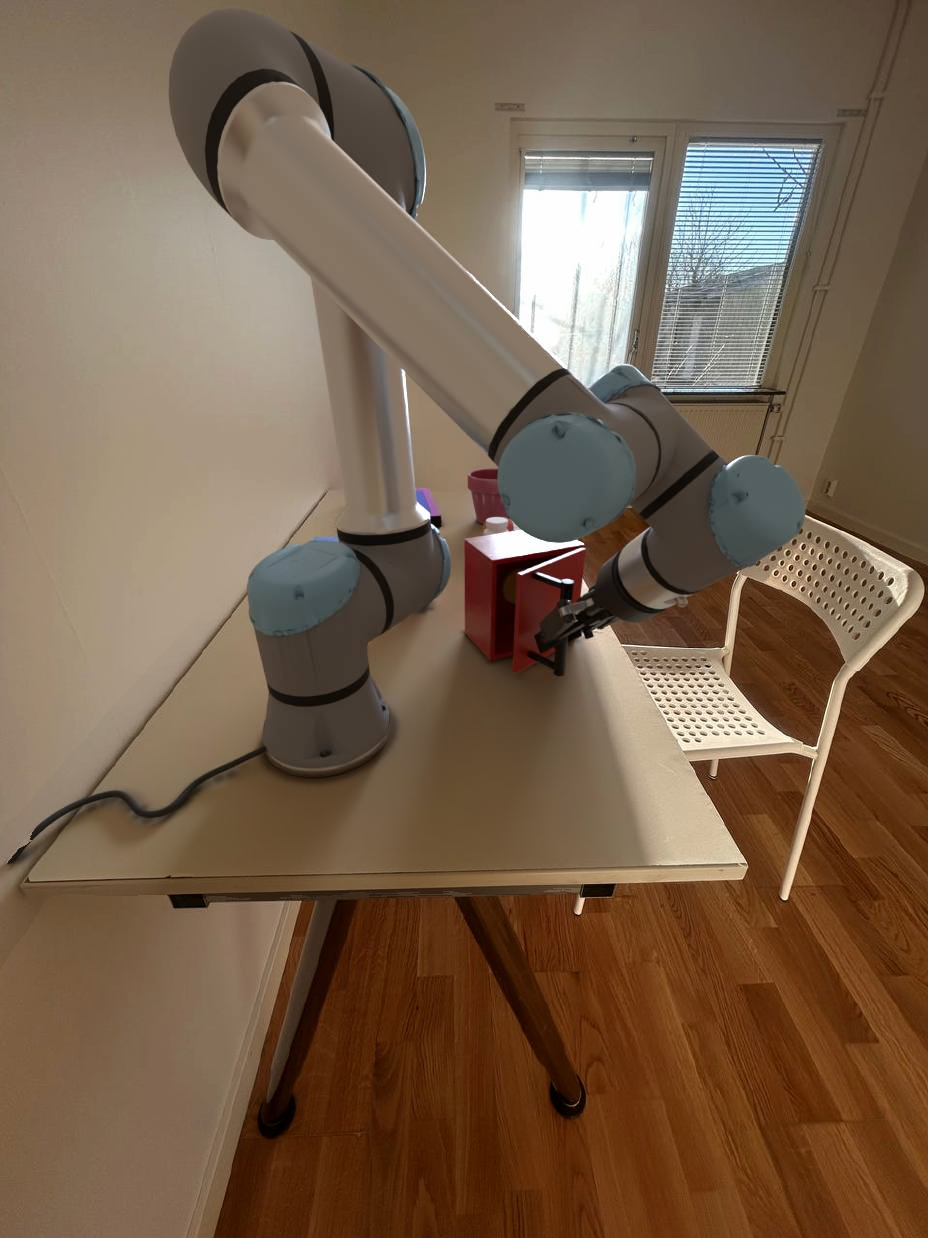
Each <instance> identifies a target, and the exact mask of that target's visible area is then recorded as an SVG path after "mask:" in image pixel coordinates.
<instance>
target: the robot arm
mask: <svg viewBox="0 0 928 1238" xmlns="http://www.w3.org/2000/svg"><path fill="white" fill-rule="evenodd" d="M168 105H169V111H170V117H171V121H172V126H173V129H174V133H175V136H176V139H177V141H178V143H179V146H180V148H181V150H182V152H183V155H184V157H185V160H186V161H187V164H188V166H189V167H190V169H191V170H192V172H193V174H194V175H195V176H196V178H197V180H198V181H199V182H200V184H201V185H202V186H203V188H204V189H205V190H206V191H207V193H208V194H209V195H210V196H211V197H212V198H213V200H214V201H215V202H216V203H217V204H218V206H219V207H221V208H222V209H223V210H224V211H225V212H226V214H227V215H229V217H230V218H232V219H233V220H234V222H235V223H236V224H237V225H238V226H239V227H241V228H242V229H243V230H244V231H245V232H247V234H250V235H251V236H254V237H255V238H258V239H261V240H267V241H274V242H275V243H276V244H277V245H278V246H279V247H280V248H281V249H282V250H283V251H284V252H285V253H286V254H287V255H288V256H289V257H290V258H291V259H292V260H293V261H294V262H295V263H296V264H297V265H298V267H300V268H301V269H302V270H303V271H304V272H305V273H306V274H307V275H308V276H309V277H310V281H311V287H312V288H311V289H312V296H313V300H314V307H315V314H316V320H317V327H318V332H319V340H320V346H321V353H322V354H321V355H322V358H323V360H322V361H323V367H324V372H325V379H326V386H327V391H328V399H329V405H330V411H331V416H332V417H331V418H332V424H333V431H334V437H335V443H336V451H337V457H338V464H339V469H340V475H341V476H340V477H341V483H342V489H343V495H344V502H345V509H344V511H343V512H342V513H341V514H340V515H339V517H338V519H336V521H335V528H336V534H337V537H338V540H339V542H335V541H325V540H320V541H312V540H310V541H307V542H305V543H304V544H300V543H294V544H292V545H291V544H290V545H288V546H285V547H283V548H280V549H277V550H275V551H274V552H272V553H270V554H268V555H267V556H265V557H264V558H262V559H261V560H260V561H259V562H258V563H257V564H256V565H255V566H254V567H253V568H252V570H251V572H250V573H249V575H248V579H247V583H246V594H247V601H248V602H247V603H248V617H249V620H250V623H251V625H252V626H253V630H254V634H255V638H256V643H257V647H258V651H259V656H260V660H261V664H262V669H263V673H264V677H265V681H266V686H267V691H268V696H267V703H266V712H265V719H264V723H263V726H262V743H263V745H262V746H261V747H259V748H256V749H254V750H252V751H250V752H247V753H246V754H244V755H241V756H240V757H237V758H235V759H233V760H231V761H229V762H227V763H225V764H223V765H220V766H218V767H216V768H214V769H211V770H209V771H207V772H205V773H204V774H202V775H200V776H199V777H198V778H196V779H194V780H193V781H191V782H190V784H188V785H187V786H186V788H185V789H184V790H183V791H182V792H181V793H180V794H179V796H178V797H176V798H175V800H174V801H173V802H171V803H170V804H169V805H167V806H165V807H163V808H160V809H156V810H146V809H145V808H143V807H142V806H140V804H138V802H137V801H136V800H135V798H133V797H132V796H131V794H128V792H125V791H122V790H117V789H116V790H115V789H113V790H106V791H103V792H99V793H95V794H91V795H89V796H86V797H83V798H80V799H78V800H76V801H74V802H71V803H70V804H67V805H66V806H63V807H62V808H59V810H57V811H55V812H54V813H52V814H51V815H49V816H48V817H46V818H45V819H43V820H42V821H41V822H40V823H39V824H38V825H36V826H35V827H36V828H35V827H34V828H35V829H34V828H33V829H34V831H33V832H32V835H31V836H30V837H31V838H30V840H32V841H31V842H29V843H28V844H27V845H25V846H23V847H21V848H19V849H18V850H17V852H16V853H15V854H14V855H13V856H12V858H11V859H10V860H9V861H8V863H7V865H6V866H8V865H11V864H13V863H15V862H16V861H17V860H18V858H19V857H20V856H21V855H22V853H23V852H24V851H25V849H26V848H27V847H28V846H29V845H30V844H31V843H32V842H33V841H34V839H36V838H37V837H38V835H40V834H41V833H42V832H43V831H44V830H46V828H48V827H49V826H51V825H52V824H54V823H55V822H56V821H58V820H59V819H60V818H62V817H64V816H65V815H68V814H69V813H71V812H72V811H74V810H76V809H79V808H81V807H84V806H86V805H89V804H91V803H95V802H97V801H101V800H104V799H109V798H117V799H118V798H119V799H121V800H123V802H125V804H126V805H127V806H128V808H130V810H131V811H132V812H133V813H134V814H135V815H137V816H139V817H141V818H144V819H156V818H160V817H163V816H164V817H165V816H166V815H168V814H170V813H172V812H173V811H175V810H176V809H178V807H180V806H181V804H182V803H184V801H185V800H186V799H187V798H188V796H189V795H190V794H191V793H192V792H193V791H194V790H195V789H196V788H198V787H199V786H200V785H201V784H203V783H204V782H206V781H208V780H209V779H211V778H213V777H216V776H217V775H219V774H222V773H224V772H226V771H229V770H231V769H233V768H235V767H237V766H239V765H241V764H243V763H245V762H247V761H249V760H252V759H253V758H255V757H257V756H260V755H262V754H264V753H265V754H266V757H267V759H268V760H269V761H270V763H271V764H272V765H273V766H275V767H276V768H277V769H278V770H280V771H282V772H284V773H286V774H289V775H293V776H297V777H304V778H322V777H329V776H330V777H331V776H335V775H339V774H343V773H346V772H349V771H351V770H354V769H356V768H357V767H360V766H362V765H363V764H365V763H367V762H368V761H369V760H371V759H372V758H374V756H375V755H377V754H378V753H379V752H380V751H381V749H383V747H384V746H385V744H386V743H387V741H388V739H389V736H390V732H391V717H390V712H389V709H388V705H387V703H386V700H385V699H384V698H383V696H382V694H381V691H380V690H379V688H378V686H377V684H376V682H375V680H374V678H373V676H372V675H371V671H370V661H369V654H368V653H369V652H368V646H369V644H370V643H371V642H373V641H374V640H375V639H377V638H378V637H380V636H381V635H383V634H385V633H386V632H388V631H389V630H391V629H393V628H394V627H396V626H397V625H398V624H400V623H402V622H403V621H405V620H406V619H408V618H409V617H411V616H413V615H415V614H418V613H420V612H421V611H424V610H425V608H426V607H427V606H428V605H429V606H430V605H431V603H433V601H435V600H436V599H437V598H438V597H440V596H441V594H442V593H443V592H444V590H445V588H446V587H447V585H448V583H449V580H450V577H451V571H452V559H451V558H452V557H451V552H450V549H449V545H448V543H447V541H446V539H445V538H442V537H441V531H440V530H439V529H438V527H435V526H433V525H432V524H431V520H430V513H429V512H428V511H427V510H425V509H424V508H423V507H422V506H421V505H419V503H418V502H417V500H416V489H415V488H416V480H415V467H414V458H413V446H412V435H411V425H410V424H411V423H410V413H409V403H408V391H407V381H406V380H407V379H406V375H407V376H408V377H409V378H410V379H411V380H412V381H413V382H414V383H415V384H416V386H418V387H419V388H420V389H421V390H422V391H423V392H424V393H425V394H426V395H427V396H428V397H429V398H430V399H431V400H432V401H433V402H434V403H435V404H436V405H437V406H438V407H439V408H440V409H441V410H442V411H443V412H444V413H445V414H446V415H447V416H448V417H449V418H450V419H451V420H452V421H453V422H454V424H455V425H457V427H459V429H461V430H462V432H464V434H466V435H467V437H468V438H469V439H471V441H473V443H474V444H476V445H477V447H478V448H480V449H481V450H482V451H483V453H484V454H486V456H487V457H488V458H489V459H490V460H491V461H492V462H493V463H494V464H495V465H496V467H497V468H498V483H497V484H498V490H499V494H500V495H501V498H502V501H503V504H504V506H505V509H506V513H507V514H508V516H509V518H510V520H511V521H512V522H513V525H515V526H516V527H517V528H518V529H519V530H522V531H523V532H525V533H526V534H528V535H530V536H532V537H534V538H536V539H539V540H542V541H546V542H551V543H565V542H571V541H575V540H578V541H579V540H580V539H583V538H585V537H587V536H589V535H591V534H593V533H594V532H596V531H599V530H601V529H602V528H604V527H605V526H607V525H609V524H612V523H614V522H615V521H616V520H617V519H619V517H621V516H622V515H623V514H624V513H625V512H626V510H627V508H628V507H631V508H632V510H634V511H635V512H636V513H637V514H638V516H639V517H640V518H641V519H642V520H643V521H645V522H646V523H647V524H648V526H649V527H647V528H646V529H645V530H644V531H643V532H642V533H640V534H639V535H638V536H636V537H635V538H634V539H632V540H631V541H630V542H628V543H627V544H626V545H625V546H624V547H623V548H622V549H620V550H619V551H618V552H616V553H615V554H614V555H613V556H612V557H610V558H609V559H608V560H606V561H605V562H604V563H603V564H602V566H601V567H600V568H599V570H598V572H597V577H596V581H595V585H593V586H591V587H590V588H588V591H587V592H586V593H584V594H582V595H581V597H580V598H579V599H577V601H576V603H574V604H572V602H571V601H567V600H566V599H564V600H560V601H559V602H557V603H556V608H555V609H554V610H553V611H552V612H551V613H550V614H549V615H548V616H547V617H546V618H545V619H544V620H543V621H541V622H540V623H539V626H540V629H541V631H540V632H539V633H537V634H536V635H534V638H535V641H536V644H537V647H538V649H539V652H540V654H542V653H545V652H547V651H548V650H550V649H552V648H553V647H554V648H555V646H556V645H558V644H560V643H561V642H563V641H565V640H566V638H565V637H566V636H568V635H569V638H568V645H569V644H571V643H572V642H574V641H576V640H578V639H580V638H581V637H583V636H584V639H585V640H588V639H589V640H590V639H593V638H594V637H595V636H594V633H593V631H595V630H604V629H605V628H607V627H609V626H611V625H613V624H614V623H616V622H618V621H620V620H621V621H624V622H626V623H634V624H636V623H643V622H646V621H648V620H649V619H652V618H653V617H655V616H657V615H660V614H661V613H662V612H665V611H666V610H668V609H669V608H670V607H672V606H675V605H677V607H678V608H684V607H686V606H688V604H689V601H688V599H687V598H688V597H691V596H693V595H695V594H697V593H699V592H701V591H702V590H704V589H706V588H708V587H710V586H712V585H715V584H716V583H718V582H720V581H722V580H724V579H726V578H728V577H730V576H732V575H734V574H736V573H739V572H740V571H742V570H744V569H747V568H752V567H753V566H755V565H757V563H758V562H760V561H761V560H763V559H764V558H766V557H768V556H769V555H771V554H772V553H774V552H775V551H777V550H778V549H780V548H782V547H783V546H785V545H787V544H788V543H790V542H791V541H792V540H794V539H795V538H796V537H797V536H798V535H799V534H800V532H801V530H802V528H803V526H804V523H805V520H806V502H805V499H804V498H805V497H804V495H803V493H802V490H801V489H800V487H799V485H798V483H797V481H796V479H795V478H794V477H793V476H792V474H790V473H789V471H788V470H786V468H784V467H783V465H780V464H773V462H772V461H771V460H770V458H768V457H765V456H762V455H758V454H749V455H743V456H740V457H738V458H736V459H735V460H733V461H729V462H728V461H726V459H725V458H723V456H722V455H719V454H718V453H717V451H715V450H714V449H713V448H712V447H711V445H710V444H709V443H708V442H707V441H706V439H704V438H703V437H702V436H701V435H700V434H699V432H698V431H697V430H696V429H695V428H694V427H693V426H692V425H691V423H690V422H689V421H687V419H686V418H685V416H683V415H682V414H681V412H679V410H678V409H677V408H676V407H675V406H674V405H673V404H672V402H671V401H670V400H668V398H667V397H666V396H665V395H664V394H663V391H662V389H661V388H660V387H659V386H658V385H657V384H656V383H654V382H652V381H650V380H649V379H648V378H647V377H646V376H645V375H643V373H642V372H641V371H640V370H638V368H636V366H633V365H632V364H628V363H623V364H618V365H617V366H615V367H613V368H612V369H611V370H610V371H608V372H605V373H604V374H603V375H602V376H600V377H599V378H598V379H597V380H596V381H594V383H592V384H591V385H590V386H589V387H587V386H586V385H585V384H584V383H583V382H582V381H581V380H580V379H579V378H577V377H576V376H575V375H574V374H573V373H572V372H571V371H570V370H569V369H568V367H567V366H566V365H565V364H564V363H563V362H562V361H561V360H560V359H559V358H558V357H557V356H555V354H554V353H552V351H550V349H549V348H547V347H546V346H545V345H544V344H543V343H542V342H541V341H540V340H539V339H538V338H537V337H536V336H535V335H534V334H533V333H532V332H531V331H530V330H529V329H528V328H527V327H526V326H524V324H523V323H522V322H521V321H519V319H517V317H515V315H514V314H512V313H511V312H510V311H509V310H508V309H507V308H506V307H505V306H504V305H503V304H502V303H501V302H500V301H499V300H498V299H497V298H496V297H494V295H493V294H492V293H491V292H489V290H488V289H487V288H486V287H484V286H483V285H482V284H481V282H479V281H478V280H477V279H476V278H475V276H473V275H472V274H471V273H470V272H469V271H468V270H467V269H466V268H465V267H464V266H463V265H462V264H461V263H460V262H459V261H458V260H456V258H455V257H453V256H452V254H451V253H449V252H448V250H446V249H445V248H444V247H443V246H442V245H441V244H440V243H439V242H438V241H437V240H436V239H435V238H434V237H433V236H432V235H431V234H430V233H429V232H428V231H427V230H426V229H425V228H424V227H422V225H420V224H419V223H418V222H417V221H416V218H417V217H418V212H417V209H418V207H419V206H420V205H422V204H423V200H424V195H425V190H426V178H427V171H426V169H427V168H426V166H427V165H426V157H425V150H424V145H423V141H422V137H421V134H420V131H419V129H418V126H417V123H416V121H415V119H414V117H413V115H412V113H411V111H410V110H409V108H408V107H407V105H406V104H405V103H404V102H403V100H402V99H401V98H400V97H399V96H398V95H397V94H396V93H395V92H394V91H393V90H391V89H390V88H389V87H387V86H386V85H385V84H384V83H383V82H382V81H381V80H380V79H379V78H378V77H377V76H376V75H374V74H373V73H371V71H369V70H366V69H365V68H362V67H360V66H358V65H354V64H351V63H347V62H346V61H344V60H342V59H340V58H338V57H336V56H335V55H333V54H332V53H330V52H328V51H326V50H325V49H323V48H321V47H319V46H318V45H316V44H314V43H313V42H311V41H309V40H307V39H305V38H304V37H302V36H300V35H299V34H298V33H295V32H293V31H291V30H289V29H288V28H286V27H285V26H284V25H282V24H280V23H279V22H278V21H276V20H274V19H272V18H270V17H269V16H266V15H264V14H262V13H258V12H255V11H250V10H247V9H243V8H232V7H231V8H225V9H223V8H222V9H217V10H213V11H211V12H208V13H206V14H204V15H202V16H201V17H200V18H198V19H197V20H196V21H195V22H193V23H192V24H191V25H190V26H189V27H188V28H187V30H186V31H185V32H184V33H183V35H182V36H181V37H180V40H179V41H178V44H177V46H176V48H175V50H174V53H173V55H172V60H171V64H170V68H169V73H168ZM429 606H428V607H429ZM428 607H427V608H428ZM427 608H426V609H427ZM423 609H424V610H423ZM582 633H583V634H582Z"/></svg>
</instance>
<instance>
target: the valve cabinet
mask: <svg viewBox="0 0 928 1238" xmlns="http://www.w3.org/2000/svg"><path fill="white" fill-rule="evenodd" d="M463 547H464V549H463V552H464V553H463V558H464V559H463V560H464V561H463V562H464V563H463V564H464V565H463V566H464V567H463V569H464V574H463V575H464V577H463V578H464V581H463V583H464V634H465V635H466V636H467V637H468V638H469V639H470V641H472V643H474V645H475V646H476V647H477V648H478V649H479V651H480V652H481V653H482V654H483V655H484V656H485V657H486V658H487V659H488V661H489V662H493V661H497V660H502V659H505V658H509V657H513V650H514V628H515V607H516V585H517V573H520V572H522V571H524V570H527V569H529V568H532V567H534V566H537V565H539V564H542V563H544V562H547V561H549V560H552V559H554V558H557V557H559V556H562V555H564V554H567V553H569V552H572V551H574V550H577V549H579V548H585V549H586V544H585V543H583V542H581V541H579V539H578V540H575V541H571V542H565V543H551V542H546V541H542V540H539V539H536V538H534V537H532V536H530V535H528V534H526V533H525V532H523V531H522V530H521V529H519V530H514V531H512V532H506V533H499V534H492V535H486V536H483V535H480V536H473V537H467V538H464V539H463Z"/></svg>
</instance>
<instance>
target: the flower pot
mask: <svg viewBox="0 0 928 1238" xmlns="http://www.w3.org/2000/svg"><path fill="white" fill-rule="evenodd" d="M497 483H498V467H497V468H496V467H495V468H493V467H492V468H480V469H476V470H471V471H470V472H468V473H467V489H468V490H469V491H470V493H471V499H472V504H473V508H474V513H475V518H476V521H477V522H478V523H480V524H482V525H483V524H484V522H485V521H486V519H488V518H491V517H498V512H499V517H506V518H508V519H510V518H509V516H508V514H507V513H506V509H505V506H504V504H503V501H502V498H501V495H500V494H499V490H498V484H497ZM510 520H511V519H510Z"/></svg>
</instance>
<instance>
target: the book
mask: <svg viewBox="0 0 928 1238" xmlns="http://www.w3.org/2000/svg"><path fill="white" fill-rule="evenodd" d="M415 489H416V500H417V502H418V503H419V505H421V506H422V507H423V508H426V509H427V510H428V512H429V513H430V520H431V524H432V525H433V526H435V527H436V528H440V527H442V514H441V512H440V510H439V508H438V505H437V504H436V502H435V500H434V498H433V495H432V493H431V490H430V489H429V487H415Z"/></svg>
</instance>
